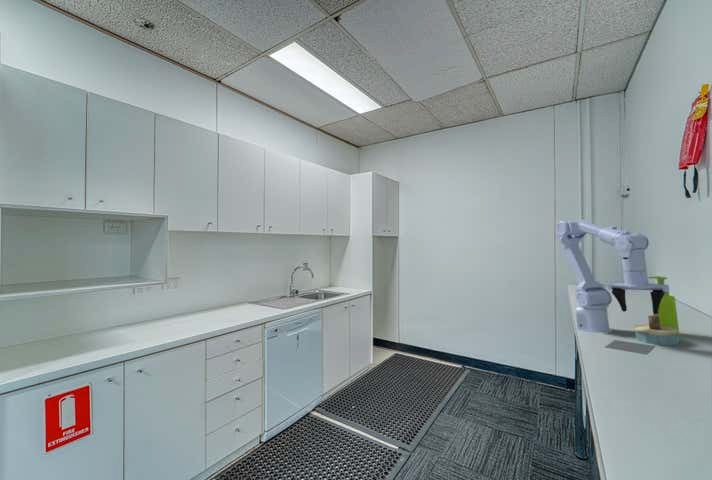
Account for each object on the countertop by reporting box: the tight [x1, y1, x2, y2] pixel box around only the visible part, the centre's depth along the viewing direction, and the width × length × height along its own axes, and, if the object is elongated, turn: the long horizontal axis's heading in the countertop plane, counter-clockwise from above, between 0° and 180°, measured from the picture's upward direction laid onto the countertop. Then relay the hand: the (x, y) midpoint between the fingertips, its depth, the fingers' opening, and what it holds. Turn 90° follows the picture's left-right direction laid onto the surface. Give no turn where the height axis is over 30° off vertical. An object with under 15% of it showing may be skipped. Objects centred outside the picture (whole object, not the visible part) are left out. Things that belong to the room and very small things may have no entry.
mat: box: [604, 339, 656, 355], centre depth 96 cm, size 10×10×1 cm
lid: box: [633, 315, 678, 336], centre depth 99 cm, size 10×10×5 cm
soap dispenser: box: [648, 275, 680, 337], centre depth 107 cm, size 6×7×20 cm
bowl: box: [634, 330, 680, 346], centre depth 99 cm, size 10×10×4 cm
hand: (639, 312), depth 98 cm, fingers open, 7 cm apart
